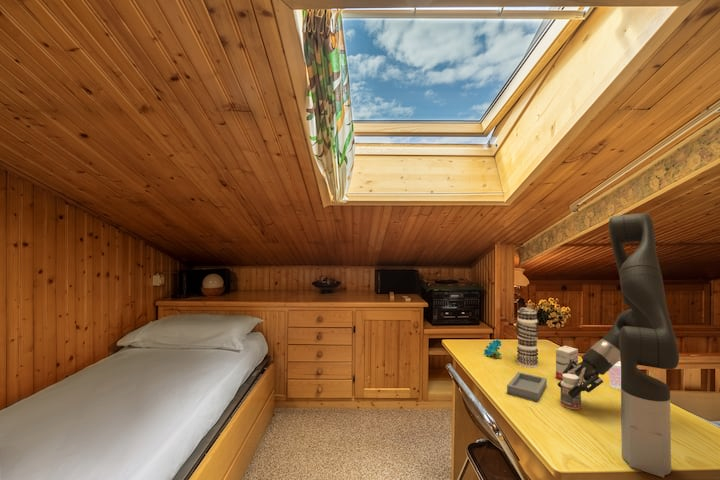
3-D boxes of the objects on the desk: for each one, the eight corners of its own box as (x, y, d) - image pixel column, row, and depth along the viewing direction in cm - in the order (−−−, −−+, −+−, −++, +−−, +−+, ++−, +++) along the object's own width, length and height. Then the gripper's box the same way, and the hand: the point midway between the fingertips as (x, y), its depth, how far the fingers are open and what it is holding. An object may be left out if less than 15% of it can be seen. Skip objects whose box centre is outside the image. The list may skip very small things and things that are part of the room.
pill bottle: (576, 411, 105) (576, 381, 105) (557, 404, 110) (557, 375, 110) (583, 406, 109) (583, 376, 109) (565, 400, 113) (564, 371, 113)
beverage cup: (623, 384, 125) (623, 348, 125) (631, 391, 119) (630, 353, 120) (604, 382, 127) (604, 346, 127) (610, 389, 122) (610, 351, 122)
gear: (481, 348, 165) (496, 335, 163) (489, 356, 164) (505, 343, 162) (485, 358, 154) (502, 345, 152) (494, 367, 154) (511, 354, 152)
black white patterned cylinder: (527, 359, 153) (527, 305, 154) (544, 366, 144) (543, 309, 145) (511, 361, 150) (511, 307, 151) (527, 368, 142) (527, 311, 142)
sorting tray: (538, 402, 112) (538, 393, 112) (507, 393, 118) (507, 385, 118) (546, 386, 124) (546, 378, 124) (518, 379, 130) (518, 371, 130)
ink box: (568, 382, 127) (568, 352, 128) (555, 378, 132) (555, 348, 132) (578, 377, 132) (578, 348, 132) (565, 373, 136) (565, 345, 136)
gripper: (580, 341, 116) (545, 374, 117) (608, 355, 102) (568, 393, 102) (596, 357, 116) (561, 390, 116) (626, 373, 101) (586, 410, 102)
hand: (565, 391), depth 109 cm, fingers closed on pill bottle, 5 cm apart
